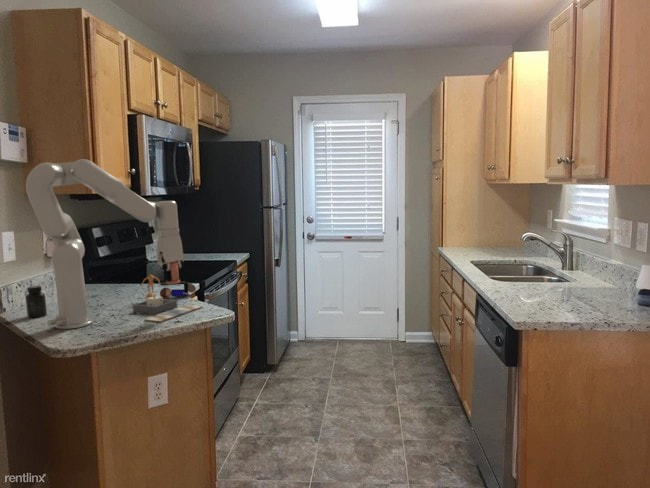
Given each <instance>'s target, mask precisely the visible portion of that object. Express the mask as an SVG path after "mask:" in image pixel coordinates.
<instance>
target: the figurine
mask: <svg viewBox="0 0 650 488" xmlns="http://www.w3.org/2000/svg"><path fill="white" fill-rule="evenodd" d="M154 279H155V280H157V281H158V285H159V286H161V285H160V283H161V282H160V279H159V277H156V276H154V275H153V274H148V276H147V277H146V278H143V281H142V282H141V284H140V285H141V287H142V286H143V284H144V282H145V281H146V280H148V282H147V287H146V288H147V290H148V293H147V294H146V296H145V299H147V298H150V297H153V296H156V295H155V294H154V286H155V282H154ZM150 287H151V288H150Z"/></svg>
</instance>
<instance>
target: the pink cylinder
mask: <svg viewBox="0 0 650 488" xmlns="http://www.w3.org/2000/svg"><path fill="white" fill-rule="evenodd" d="M166 267H167V264H166ZM169 271H171V278H172V280H171V281H165V282H166V284H178V283H180V281H181V278H179V271H178V262H176V261H174V262H171V263H170V270H169Z"/></svg>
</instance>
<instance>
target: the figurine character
mask: <svg viewBox="0 0 650 488" xmlns="http://www.w3.org/2000/svg"><path fill="white" fill-rule="evenodd" d="M179 285H183V288H182V289H181V288H180V289H179V288H177V289H170V288H168V287H163V286H179ZM159 286H162V287H163V288H161V289H160V291H159V295H160V296H159V297H163V299H169V298H171V297H191V296H192V295H191V294H190V293H194V292H196V290H197V289H196V286H195V285H194V284H193V283H191V282H187V281H185V280H183V281H182V280H180V283H178V284H166V281H164V282H160V285H159Z"/></svg>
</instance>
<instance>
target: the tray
mask: <svg viewBox="0 0 650 488" xmlns="http://www.w3.org/2000/svg"><path fill="white" fill-rule="evenodd" d="M177 308H178V301H177V300H175V299H169V298H167V299H164V298H163V304H161V305H158V306H147V301H146V300H145V301H144V300H143V301H142V302H138V303H135V304H132V309H133V313H138V314H146V315H147V314H149V315H160V314H163V313H166V312H169V311H172V310H175V309H177Z"/></svg>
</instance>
